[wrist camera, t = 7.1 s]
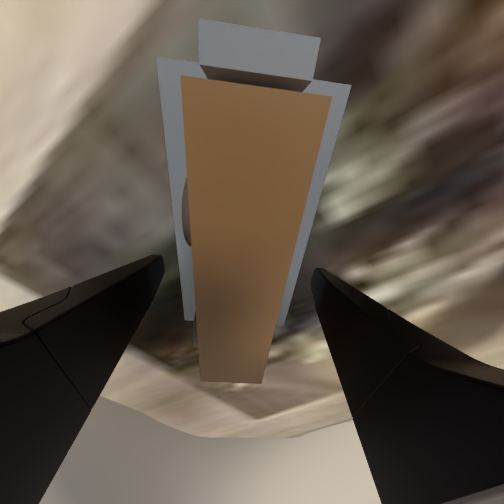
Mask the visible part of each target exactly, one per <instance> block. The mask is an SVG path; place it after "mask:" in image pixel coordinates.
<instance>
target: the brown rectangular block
mask: <svg viewBox="0 0 504 504" xmlns="http://www.w3.org/2000/svg"><path fill="white" fill-rule="evenodd" d="M180 78H181V93H182V108H183V123H184V139H185V154H186V169H187V178H186V181H185V184H184V189H183V196H182V227H183V233H184V237H185V240H186V242H187V244H188V245H189V246H191V247H192V261H193V276H194V291H195V306H196V311H195V317H194V323H193V334H192V341H193V347H194V348H198V352H199V367H200V381H209V382H232V383H256V384H261V383H262V379H263V375H264V371H265V367H266V363H267V359H268V355H269V351H270V346H271V342H272V338H273V334H274V330H275V326H276V322H277V318H278V314H279V310H280V306H281V302H282V298H283V294H284V290H285V286H286V282H287V278H288V274H289V270H290V266H291V262H292V258H293V254H294V249H295V245H296V241H297V237H298V233H299V229H300V225H301V221H302V217H303V213H304V209H305V205H306V201H307V197H308V193H309V189H310V185H311V181H312V177H313V173H314V169H315V165H316V161H317V156H318V152H319V148H320V144H321V140H322V136H323V132H324V128H325V124H326V120H327V116H328V112H329V108H330V104H331V100H332V96H325V95H318V94H310V93H303V92H296V91H289V90H282V89H275V88H268V87H261V86H254V85H246V84H239V83H232V82H225V81H218V80H211V79H204V78H197V77H189V76H182V75H180Z"/></svg>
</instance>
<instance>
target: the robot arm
mask: <svg viewBox="0 0 504 504" xmlns="http://www.w3.org/2000/svg"><path fill="white" fill-rule="evenodd" d="M164 272H165V268H164V262H163V257H162V256H161V255H150V256H148V257H145V258H143V259H140V260H137V261H135V262H132V263H130V264H127V265H125V266H122V267H120V268H117V269H114V270H112V271H109V272H107V273H104V274H102V275H99V276H96V277H94V278H91V279H89V280H86V281H84V282H81V283H79V284H76V285H73V286H72V287H68V288H66V289H63V290H61V291H58V292H55V293H53V294H50V295H47V296H45V297H42V298H39V299H37V300H34V301H31V302H28V303H25V304H22V305H20V306H17V307H14V308H11V309H8V310H5V311H2V312H0V504H39V502H40V501H41V499H42V497H43V495H44V494H45V492H46V490H47V488H48V487H49V484H50V483H51V481H52V479H53V478H54V476H55V474H56V472H57V471H58V469H59V467H60V465H61V463H62V462H63V460H64V458H65V456H66V455H67V452H68V451H69V449H70V447H71V446H72V444H73V442H74V440H75V439H76V437H77V435H78V433H79V431H80V430H81V428H82V426H83V424H84V422H85V421H86V419H87V417H88V415H89V414H90V412H91V409H92V408H93V406H94V404H95V403H96V401H97V399H98V397H99V395H100V394H101V392H102V390H103V388H104V387H105V385H106V383H107V381H108V379H109V378H110V376H111V374H112V372H113V371H114V369H115V367H116V365H117V363H118V362H119V360H120V358H121V356H122V355H123V353H124V351H125V349H126V347H127V346H128V344H129V342H130V340H131V339H132V337H133V335H134V333H135V331H136V330H137V328H138V326H139V324H140V323H141V321H142V319H143V317H144V315H145V314H146V312H147V310H148V308H149V307H150V305H151V303H152V301H153V299H154V297H155V295H156V292H157V290H158V287H159V285H160V283H161V280H162V278H163V275H164ZM311 289H312V293H313V298H314V303H315V307H316V311H317V314H318V317H319V320H320V323H321V326H322V329H323V332H324V335H325V338H326V341H327V344H328V347H329V350H330V353H331V356H332V359H333V362H334V365H335V367H336V370H337V373H338V376H339V379H340V382H341V385H342V388H343V391H344V394H345V397H346V400H347V403H348V406H349V409H350V412H351V415H352V417H353V421H354V424H355V427H356V429H357V433H358V436H359V438H360V441H361V444H362V447H363V450H364V453H365V456H366V459H367V462H368V465H369V468H370V471H371V474H372V477H373V480H374V482H375V485H376V488H377V491H378V494H379V497H380V500H381V503H382V504H504V370H503V369H499V368H496V367H493V366H490V365H488V364H485V363H483V362H480V361H478V360H476V359H474V358H472V357H470V356H468V355H466V354H465V353H463V352H461V351H459V350H458V349H456V348H454V347H452V346H450V345H449V344H447V343H445V342H443V341H442V340H440V339H438V338H436V337H435V336H433V335H431V334H429V333H427V332H426V331H424V330H422V329H421V328H419V327H417V326H415V325H414V324H412V323H410V322H409V321H407V320H405V319H404V318H402V317H400V316H399V315H397V314H395V313H394V312H392V311H391V310H389V309H388V310H387V308H386V307H384V306H383V305H381V304H379V303H378V302H376V301H375V300H373V299H371V298H370V297H368V296H367V295H365V294H364V293H362V292H360V291H359V290H357V289H356V288H354V287H352V286H351V285H349V284H348V283H346V282H344V281H343V280H341V279H340V278H338V277H336V276H335V275H333V274H332V273H330V272H328V271H327V270H325V269H323V268H316V269H315V270H314V273H313V276H312V279H311Z"/></svg>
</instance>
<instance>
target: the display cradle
mask: <svg viewBox="0 0 504 504" xmlns="http://www.w3.org/2000/svg"><path fill="white" fill-rule="evenodd" d="M198 38H199V63H197V62H190V61H183V60H177V59H170V58H163V57H156V61H157V70H158V79H159V88H160V97H161V106H162V116H163V125H164V134H165V143H166V152H167V161H168V171H169V180H170V189H171V198H172V207H173V216H174V225H175V235H176V244H177V253H178V262H179V271H180V280H181V290H182V299H183V308H184V317H185V320H189V321H194V317H195V311H196V306H195V291H194V276H193V261H192V247H191V246H189V245H188V244H187V242H186V240H185V237H184V233H183V227H182V196H183V189H184V184H185V181H186V178H187V169H186V154H185V139H184V123H183V108H182V93H181V78H180V75H182V76H189V77H197V78H204V79H211V80H218V81H225V82H232V83H239V84H246V85H254V86H261V87H268V88H275V89H282V90H289V91H296V92H303V93H310V94H318V95H325V96H332V100H331V104H330V108H329V112H328V116H327V120H326V124H325V128H324V132H323V136H322V140H321V144H320V148H319V152H318V156H317V161H316V165H315V169H314V173H313V177H312V181H311V185H310V189H309V193H308V197H307V201H306V205H305V209H304V213H303V217H302V221H301V225H300V229H299V233H298V237H297V241H296V245H295V249H294V254H293V258H292V262H291V266H290V270H289V274H288V278H287V282H286V286H285V290H284V294H283V298H282V302H281V306H280V310H279V314H278V318H277V322H276V326H284V323H285V320H286V316H287V313H288V309H289V306H290V302H291V298H292V295H293V291H294V288H295V284H296V281H297V277H298V274H299V270H300V266H301V263H302V259H303V256H304V252H305V249H306V245H307V242H308V238H309V234H310V231H311V227H312V224H313V220H314V217H315V213H316V210H317V206H318V202H319V199H320V195H321V192H322V188H323V185H324V181H325V178H326V174H327V170H328V167H329V163H330V160H331V156H332V153H333V149H334V146H335V142H336V138H337V135H338V131H339V128H340V124H341V121H342V117H343V113H344V110H345V106H346V103H347V99H348V96H349V92H350V89H351V85H347V84H340V83H334V82H327V81H320V80H313V75H314V70H315V65H316V60H317V55H318V50H319V45H320V40H321V38H318V37H312V36H305V35H299V34H293V33H287V32H280V31H274V30H268V29H262V28H256V27H249V26H243V25H237V24H231V23H224V22H218V21H212V20H206V19H200V18H198Z"/></svg>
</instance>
